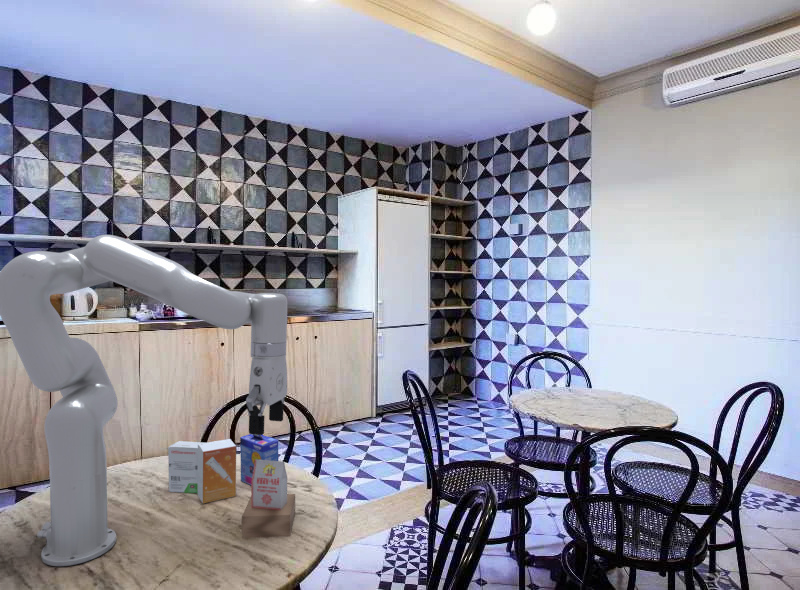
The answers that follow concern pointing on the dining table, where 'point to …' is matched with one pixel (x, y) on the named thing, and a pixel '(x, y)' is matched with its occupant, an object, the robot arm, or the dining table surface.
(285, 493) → the white carton
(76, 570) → the dining table surface
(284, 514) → the base block
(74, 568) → the dining table surface
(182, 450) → the ink box
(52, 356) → the robot arm
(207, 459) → the small box
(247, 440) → the ink cartridge box
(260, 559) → the dining table surface
